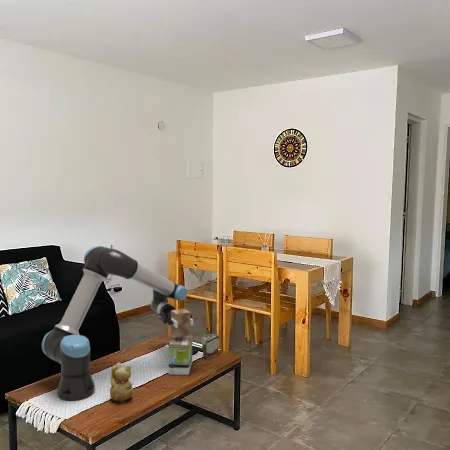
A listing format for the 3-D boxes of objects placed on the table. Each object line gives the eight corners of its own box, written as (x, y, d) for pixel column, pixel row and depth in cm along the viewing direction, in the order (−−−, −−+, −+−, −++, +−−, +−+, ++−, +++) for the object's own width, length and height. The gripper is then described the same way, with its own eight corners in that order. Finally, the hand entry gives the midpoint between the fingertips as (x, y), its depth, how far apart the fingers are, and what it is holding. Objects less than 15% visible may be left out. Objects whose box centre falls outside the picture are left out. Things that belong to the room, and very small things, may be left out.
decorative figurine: (135, 395, 196) (134, 361, 195) (129, 405, 188) (129, 369, 187) (112, 394, 197) (112, 360, 196) (106, 404, 189) (105, 368, 187)
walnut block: (176, 337, 218) (176, 314, 217) (170, 333, 224) (170, 310, 223) (190, 335, 221) (190, 312, 220) (184, 331, 227) (184, 308, 226)
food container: (210, 350, 248) (210, 332, 247) (219, 353, 244) (220, 334, 243) (195, 357, 238) (195, 338, 237) (205, 360, 234) (205, 341, 233)
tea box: (189, 375, 217) (189, 344, 215) (167, 375, 217) (167, 344, 215) (192, 362, 232) (192, 333, 230) (172, 362, 232) (172, 333, 230)
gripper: (185, 315, 243) (204, 328, 223) (148, 321, 233) (164, 334, 213) (185, 301, 242) (204, 313, 222) (147, 306, 233) (164, 318, 212)
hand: (184, 323), depth 218 cm, fingers open, 7 cm apart
